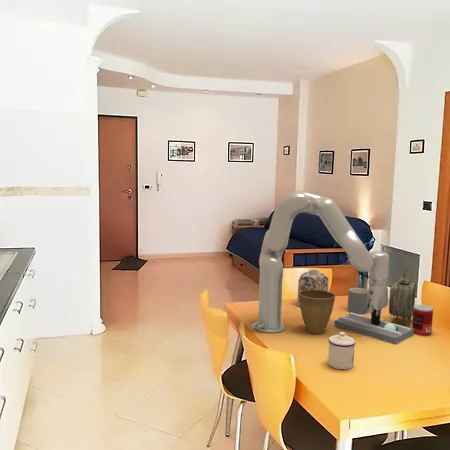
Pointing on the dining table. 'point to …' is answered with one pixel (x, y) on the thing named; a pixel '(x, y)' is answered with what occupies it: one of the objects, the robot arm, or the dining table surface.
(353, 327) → the board
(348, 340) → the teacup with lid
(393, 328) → the ball
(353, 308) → the coffee mug
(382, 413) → the dining table surface
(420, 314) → the canned food
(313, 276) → the decorative jar
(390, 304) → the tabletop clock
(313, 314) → the plant pot
